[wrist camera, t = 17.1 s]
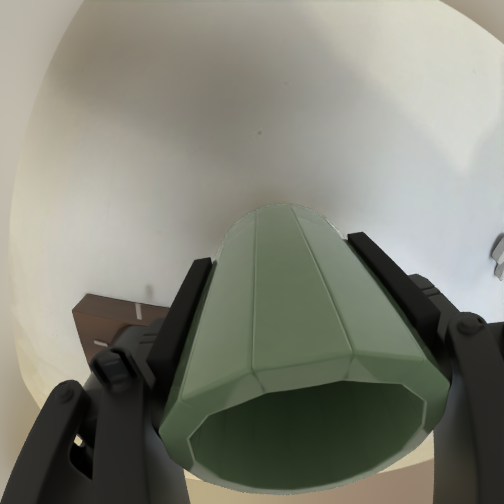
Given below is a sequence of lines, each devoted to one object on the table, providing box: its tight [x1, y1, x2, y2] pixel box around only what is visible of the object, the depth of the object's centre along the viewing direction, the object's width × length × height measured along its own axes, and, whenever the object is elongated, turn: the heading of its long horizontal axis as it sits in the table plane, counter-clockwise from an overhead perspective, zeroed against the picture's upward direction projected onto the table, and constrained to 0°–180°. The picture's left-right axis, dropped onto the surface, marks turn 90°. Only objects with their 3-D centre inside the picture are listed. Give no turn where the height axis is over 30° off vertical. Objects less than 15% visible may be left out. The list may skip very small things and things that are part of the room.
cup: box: [159, 204, 450, 495], centre depth 9 cm, size 6×6×9 cm
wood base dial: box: [72, 294, 170, 373], centre depth 25 cm, size 20×14×3 cm
